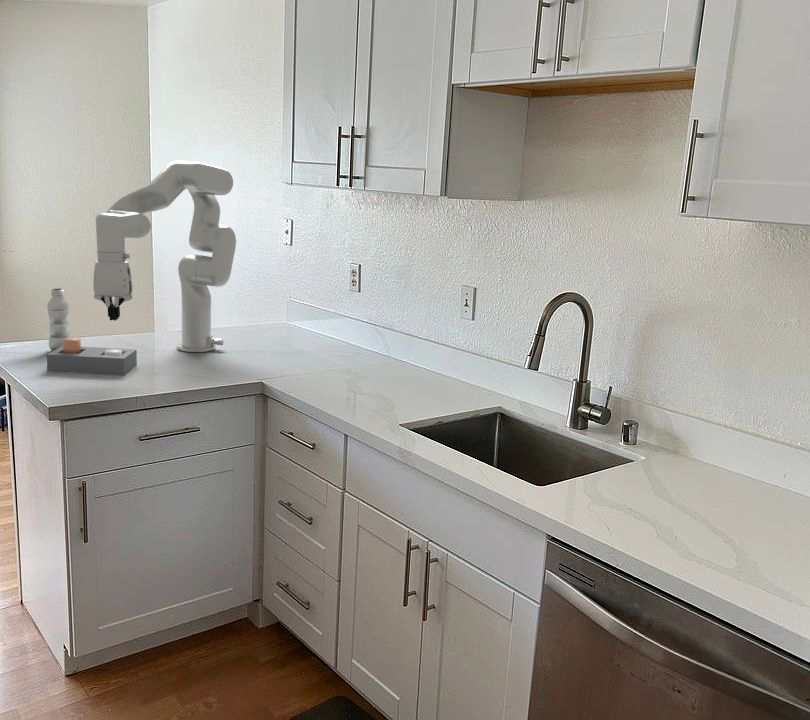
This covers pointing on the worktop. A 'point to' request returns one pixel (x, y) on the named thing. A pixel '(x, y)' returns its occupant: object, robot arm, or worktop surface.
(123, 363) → the grey two-hole block
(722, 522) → the worktop surface
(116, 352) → the ivory button
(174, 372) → the worktop surface
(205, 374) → the worktop surface
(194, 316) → the robot arm
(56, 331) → the plastic bottle
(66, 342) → the terracotta button
